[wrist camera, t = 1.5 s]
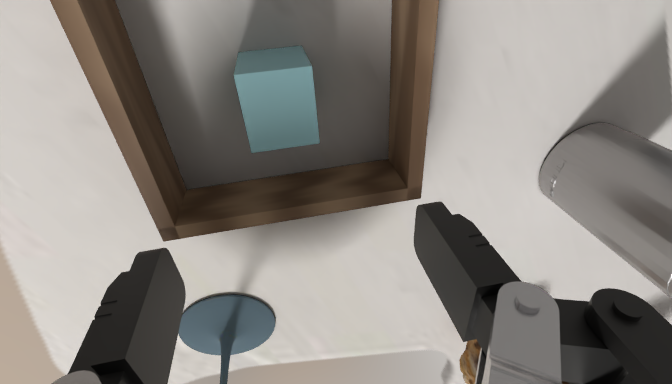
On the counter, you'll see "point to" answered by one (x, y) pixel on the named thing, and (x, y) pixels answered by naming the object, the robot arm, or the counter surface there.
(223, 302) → the cocktail glass
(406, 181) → the open-front crate
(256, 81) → the teal block
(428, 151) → the counter surface
